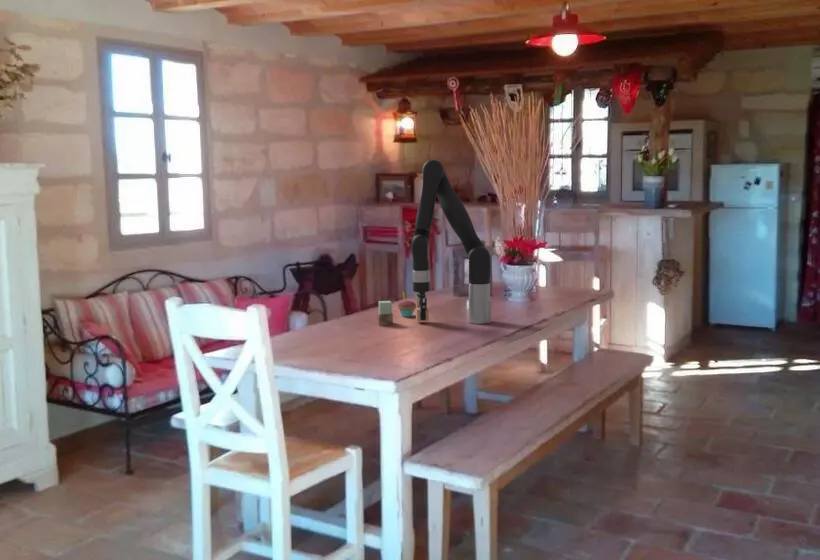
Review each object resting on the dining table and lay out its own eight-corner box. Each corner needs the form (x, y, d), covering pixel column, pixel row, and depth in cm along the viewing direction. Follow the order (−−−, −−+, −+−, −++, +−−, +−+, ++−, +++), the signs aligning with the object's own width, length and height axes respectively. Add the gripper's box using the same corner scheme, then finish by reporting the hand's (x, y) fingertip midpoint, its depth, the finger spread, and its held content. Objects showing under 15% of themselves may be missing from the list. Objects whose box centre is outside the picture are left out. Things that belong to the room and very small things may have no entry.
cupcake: (395, 317, 392) (394, 291, 390) (402, 314, 400) (401, 288, 398) (412, 318, 389) (412, 291, 387) (419, 314, 397) (419, 289, 395)
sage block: (390, 312, 377) (389, 300, 377) (391, 313, 372) (391, 302, 372) (378, 312, 376) (378, 301, 376) (380, 314, 372) (380, 303, 371)
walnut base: (391, 323, 378) (391, 311, 378) (392, 325, 372) (392, 314, 372) (378, 323, 378) (377, 312, 377) (379, 326, 372) (378, 314, 371)
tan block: (427, 318, 380) (426, 307, 379) (428, 320, 375) (428, 309, 374) (415, 319, 379) (415, 308, 378) (417, 321, 374) (417, 309, 373)
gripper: (432, 282, 368) (433, 321, 370) (427, 277, 382) (428, 315, 384) (414, 283, 367) (416, 322, 369) (410, 278, 381) (411, 316, 383)
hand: (422, 318), depth 377 cm, fingers closed on tan block, 5 cm apart
